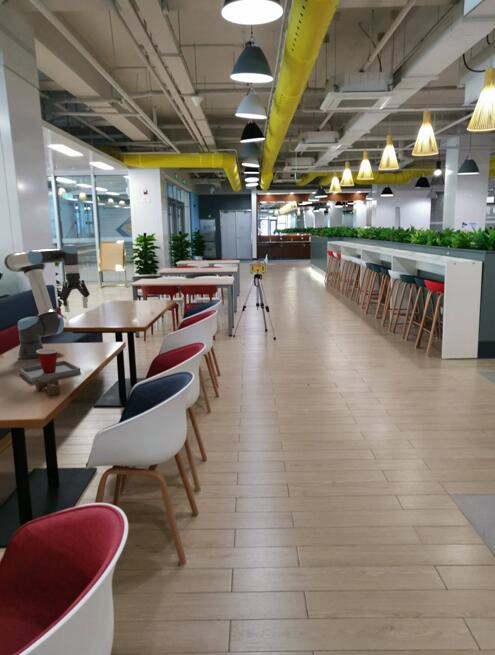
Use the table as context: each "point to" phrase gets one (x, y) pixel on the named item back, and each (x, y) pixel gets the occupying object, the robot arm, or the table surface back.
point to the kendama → (48, 386)
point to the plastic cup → (48, 359)
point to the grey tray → (61, 371)
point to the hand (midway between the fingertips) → (76, 309)
